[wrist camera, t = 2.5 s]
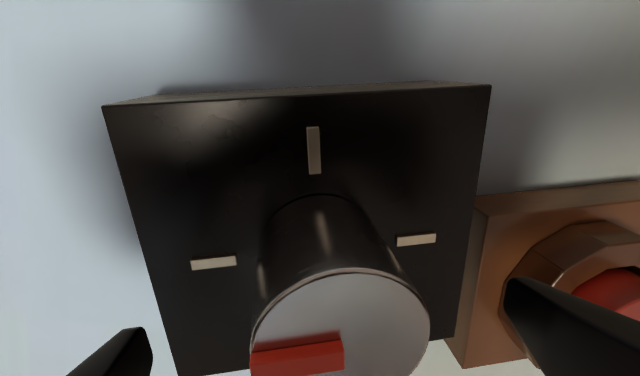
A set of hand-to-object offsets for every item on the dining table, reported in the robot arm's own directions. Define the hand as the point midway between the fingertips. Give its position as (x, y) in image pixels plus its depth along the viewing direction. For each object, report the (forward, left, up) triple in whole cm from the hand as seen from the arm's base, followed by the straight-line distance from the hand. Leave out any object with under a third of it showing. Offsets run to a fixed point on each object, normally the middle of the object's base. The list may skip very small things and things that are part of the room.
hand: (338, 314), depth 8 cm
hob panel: (0, 0, -7) cm, 7 cm away
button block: (-12, +5, -7) cm, 15 cm away
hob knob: (0, 0, -3) cm, 3 cm away
